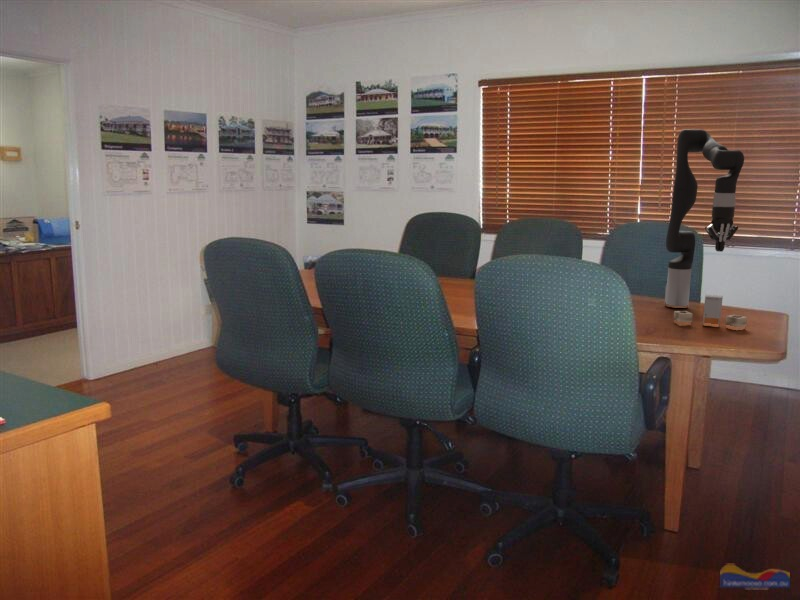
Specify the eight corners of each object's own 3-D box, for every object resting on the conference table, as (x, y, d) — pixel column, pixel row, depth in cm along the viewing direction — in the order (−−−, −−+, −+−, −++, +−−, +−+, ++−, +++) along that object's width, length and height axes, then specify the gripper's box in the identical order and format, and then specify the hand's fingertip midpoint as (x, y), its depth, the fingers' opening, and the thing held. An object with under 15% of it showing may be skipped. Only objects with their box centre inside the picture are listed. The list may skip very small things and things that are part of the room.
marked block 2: (725, 328, 254) (726, 315, 253) (734, 327, 256) (735, 313, 255) (736, 331, 250) (738, 318, 248) (745, 330, 252) (747, 316, 251)
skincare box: (702, 326, 257) (704, 296, 254) (702, 324, 261) (705, 294, 258) (719, 328, 254) (722, 297, 252) (720, 326, 258) (722, 295, 255)
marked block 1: (673, 323, 263) (674, 310, 262) (685, 323, 263) (686, 310, 262) (678, 326, 258) (679, 313, 257) (691, 326, 258) (692, 313, 257)
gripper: (732, 204, 254) (728, 249, 257) (701, 204, 251) (697, 250, 255) (746, 205, 247) (741, 252, 250) (714, 206, 244) (710, 253, 248)
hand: (719, 251), depth 253 cm, fingers closed
